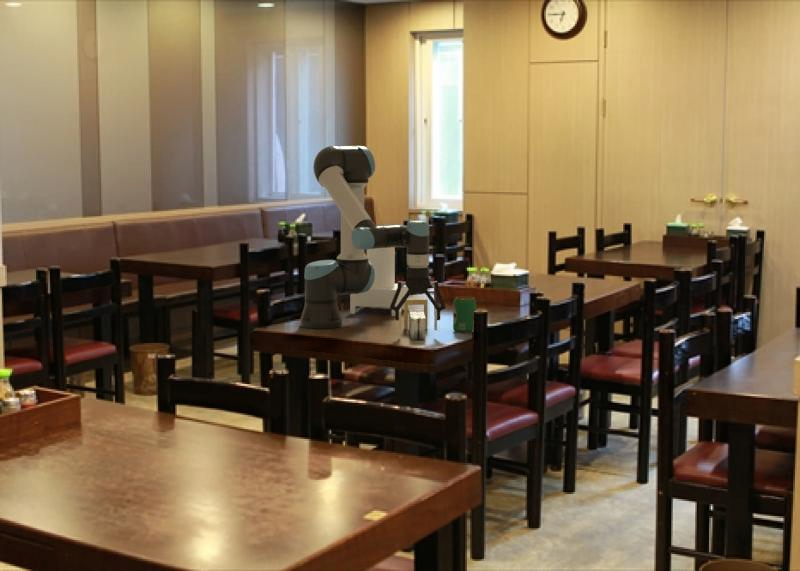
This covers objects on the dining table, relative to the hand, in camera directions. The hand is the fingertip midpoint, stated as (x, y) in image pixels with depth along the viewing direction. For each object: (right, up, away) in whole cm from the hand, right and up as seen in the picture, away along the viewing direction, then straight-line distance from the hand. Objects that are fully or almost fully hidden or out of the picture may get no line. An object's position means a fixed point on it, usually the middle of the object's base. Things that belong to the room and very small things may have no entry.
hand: (417, 329), depth 390 cm
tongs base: (0, 0, +17) cm, 17 cm away
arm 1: (-1, -2, +4) cm, 5 cm away
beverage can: (+17, -1, +13) cm, 21 cm away
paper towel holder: (-14, +5, +60) cm, 61 cm away
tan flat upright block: (0, 0, +17) cm, 17 cm away
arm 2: (+1, -2, +4) cm, 5 cm away
